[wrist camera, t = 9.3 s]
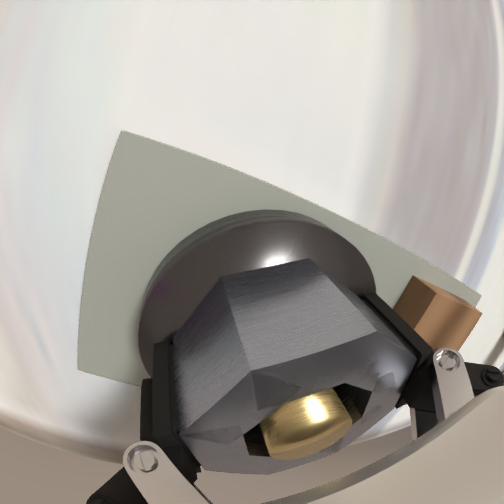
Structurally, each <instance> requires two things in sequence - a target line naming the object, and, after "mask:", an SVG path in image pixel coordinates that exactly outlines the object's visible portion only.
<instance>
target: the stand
mask: <svg viewBox="0 0 504 504" xmlns="http://www.w3.org/2000/svg"><path fill="white" fill-rule="evenodd" d="M393 310H394V311H395V312H396V313H397V314H398V315H399V316H400V317H401V318H402V319H403V320H404V321H405V322H406V323H408V324H409V325H410V326H411V327H412V328H413V329H414V330H415V331H416V332H417V333H418V334H419V335H420V336H421V337H422V338H423V339H424V340H425V341H426V342H427V343H428V344H429V345H430V346H431V347H432V348H433V349H432V351H433V352H434V353H435V352H436V351H437V350H439V349H440V348H451V349H454V350H456V351H457V352H458V350H459V349H460V348H461V346H462V345H463V343H464V342H465V340H466V339H467V337H468V336H469V334H470V333H471V331H472V330H473V328H474V327H475V325H476V323H477V322H478V320H479V318H480V317H481V315H482V313H481V312H480V311H479V310H477V309H476V308H475V307H474V306H472V305H471V304H470V303H468V302H467V301H466V300H464V299H462V298H460V297H458V296H456V295H454V294H452V293H450V292H448V291H445V290H443V289H441V288H439V287H437V286H435V285H433V284H431V283H429V282H427V281H424V280H422V279H420V278H418V277H416V276H414V275H412V277H411V279H410V281H409V283H408V284H407V286H406V288H405V289H404V291H403V293H402V295H401V296H400V298H399V300H398V301H397V303H396V304H395V306H394V308H393ZM406 404H407V403H406ZM406 404H404V405H406Z"/></svg>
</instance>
